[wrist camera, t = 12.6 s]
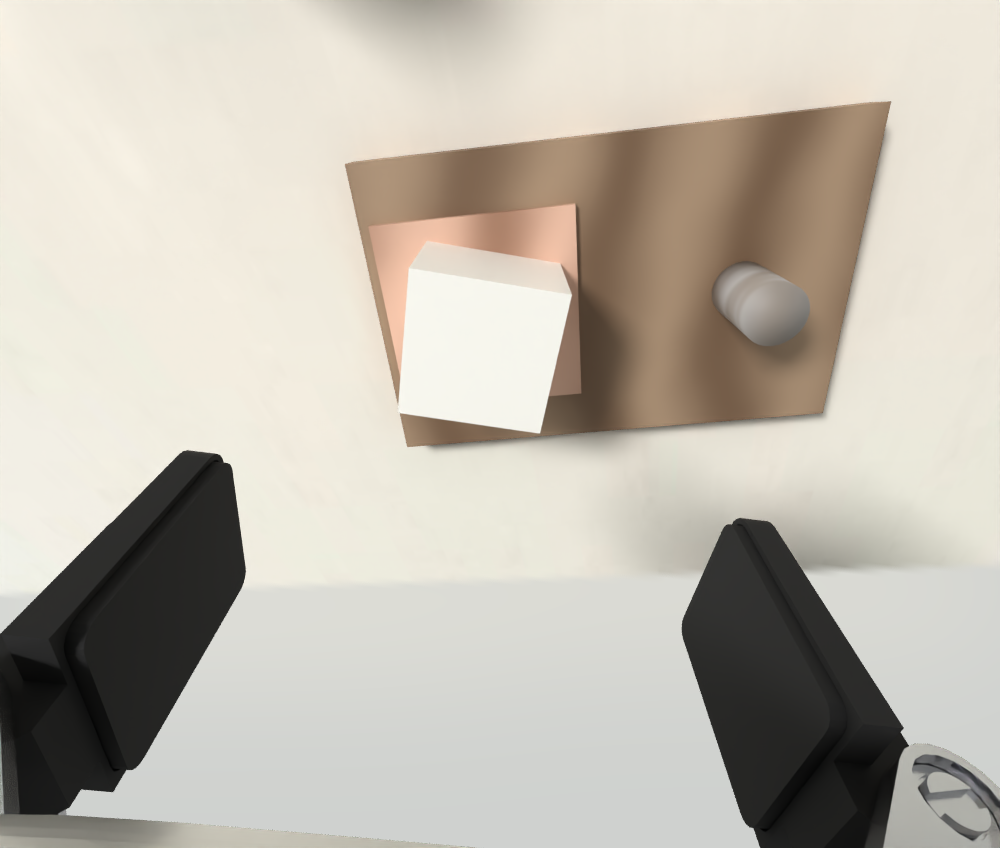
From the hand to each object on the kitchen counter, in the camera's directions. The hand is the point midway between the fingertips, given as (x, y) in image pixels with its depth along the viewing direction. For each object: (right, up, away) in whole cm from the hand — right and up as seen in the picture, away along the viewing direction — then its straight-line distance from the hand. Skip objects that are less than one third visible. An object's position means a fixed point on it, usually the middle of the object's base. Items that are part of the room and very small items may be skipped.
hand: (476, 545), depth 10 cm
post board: (+6, +9, +16) cm, 19 cm away
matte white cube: (0, +7, +15) cm, 17 cm away
